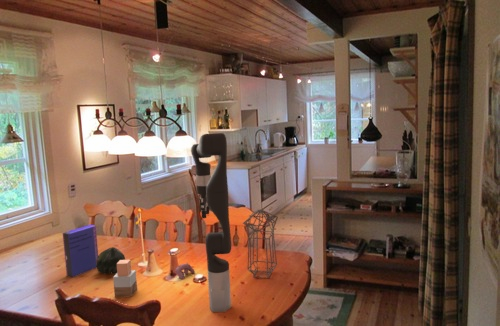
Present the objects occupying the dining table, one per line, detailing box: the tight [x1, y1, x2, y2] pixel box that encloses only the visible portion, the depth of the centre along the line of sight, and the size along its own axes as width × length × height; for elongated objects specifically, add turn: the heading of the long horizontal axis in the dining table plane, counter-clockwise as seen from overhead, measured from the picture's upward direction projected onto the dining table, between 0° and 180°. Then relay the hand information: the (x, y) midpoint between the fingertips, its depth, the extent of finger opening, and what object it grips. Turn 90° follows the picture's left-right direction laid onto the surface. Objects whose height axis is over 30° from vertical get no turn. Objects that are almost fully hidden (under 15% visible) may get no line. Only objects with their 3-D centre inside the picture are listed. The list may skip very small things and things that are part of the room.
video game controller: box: [174, 262, 196, 280], centre depth 215 cm, size 10×5×7 cm, turn 144°
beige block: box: [116, 259, 132, 276], centre depth 195 cm, size 5×5×6 cm
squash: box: [96, 246, 126, 275], centre depth 223 cm, size 14×15×15 cm
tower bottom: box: [113, 279, 138, 298], centre depth 196 cm, size 8×8×5 cm
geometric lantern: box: [242, 208, 278, 279], centre depth 209 cm, size 16×16×35 cm
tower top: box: [112, 269, 137, 288], centre depth 195 cm, size 8×8×5 cm
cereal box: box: [62, 224, 99, 278], centre depth 226 cm, size 17×5×24 cm, turn 149°
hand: (205, 216), depth 204 cm, fingers open, 8 cm apart
